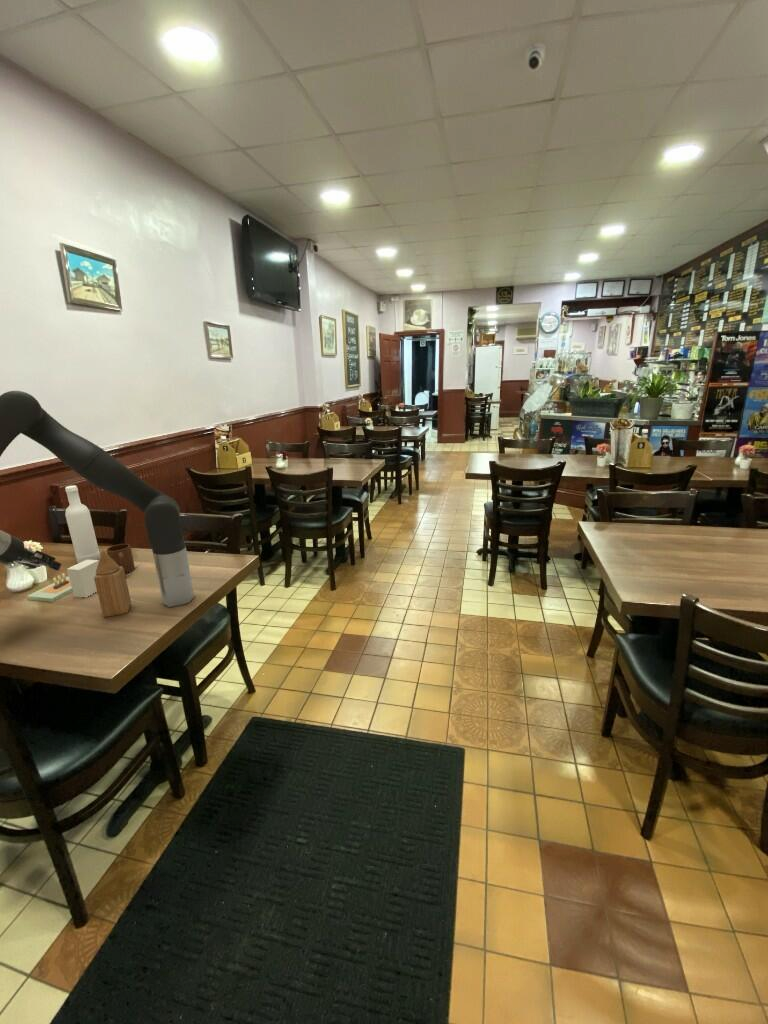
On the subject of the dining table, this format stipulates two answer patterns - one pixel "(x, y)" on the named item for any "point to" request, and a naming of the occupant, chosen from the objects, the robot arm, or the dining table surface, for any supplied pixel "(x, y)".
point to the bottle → (81, 527)
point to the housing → (83, 578)
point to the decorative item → (111, 587)
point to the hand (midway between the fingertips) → (47, 566)
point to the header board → (53, 590)
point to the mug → (122, 556)
